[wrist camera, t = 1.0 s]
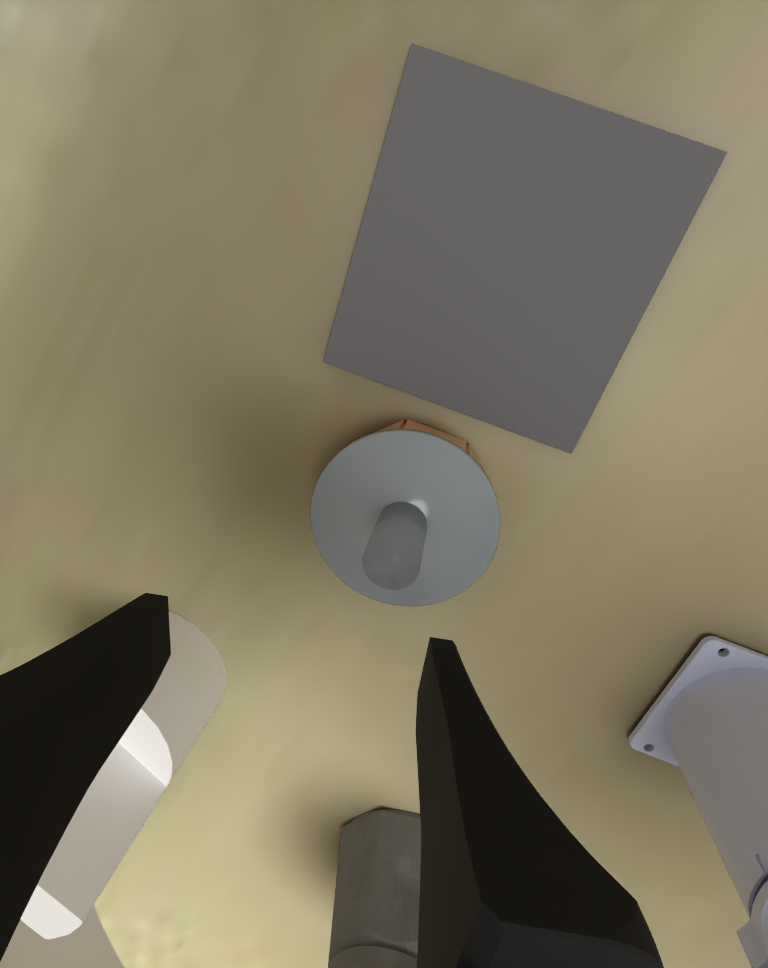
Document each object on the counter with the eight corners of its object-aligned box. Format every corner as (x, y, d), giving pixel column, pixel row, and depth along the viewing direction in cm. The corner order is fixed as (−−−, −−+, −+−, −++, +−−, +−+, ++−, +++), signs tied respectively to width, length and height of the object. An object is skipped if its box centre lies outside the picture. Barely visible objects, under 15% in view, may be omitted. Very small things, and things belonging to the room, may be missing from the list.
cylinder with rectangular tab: (254, 684, 30) (129, 906, 19) (167, 739, 33) (15, 958, 22) (151, 580, 28) (-51, 755, 17) (70, 648, 31) (-146, 834, 20)
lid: (531, 470, 20) (547, 508, 16) (456, 623, 23) (454, 685, 19) (343, 400, 20) (315, 421, 16) (294, 561, 23) (261, 610, 20)
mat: (721, 155, 17) (727, 152, 17) (569, 451, 22) (571, 453, 22) (412, 48, 18) (411, 43, 17) (325, 360, 22) (323, 361, 22)
